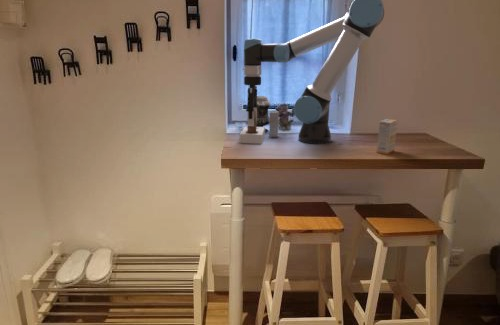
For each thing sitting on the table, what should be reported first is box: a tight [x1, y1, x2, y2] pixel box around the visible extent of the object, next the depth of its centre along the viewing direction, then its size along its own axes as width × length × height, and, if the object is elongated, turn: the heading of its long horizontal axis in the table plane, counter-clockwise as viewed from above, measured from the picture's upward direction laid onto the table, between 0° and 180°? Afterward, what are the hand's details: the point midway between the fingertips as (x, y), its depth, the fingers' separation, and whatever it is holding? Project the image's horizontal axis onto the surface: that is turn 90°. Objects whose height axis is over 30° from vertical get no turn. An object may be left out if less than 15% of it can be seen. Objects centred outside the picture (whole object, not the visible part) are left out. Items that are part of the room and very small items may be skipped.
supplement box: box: [376, 118, 399, 155], centre depth 151 cm, size 8×5×13 cm, turn 141°
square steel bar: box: [268, 110, 280, 138], centre depth 179 cm, size 4×4×12 cm
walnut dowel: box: [247, 110, 257, 134], centre depth 168 cm, size 4×4×14 cm
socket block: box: [239, 125, 266, 145], centre depth 174 cm, size 10×20×4 cm, turn 174°
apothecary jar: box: [246, 95, 271, 133], centre depth 191 cm, size 12×12×18 cm
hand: (252, 123), depth 168 cm, fingers open, 13 cm apart
